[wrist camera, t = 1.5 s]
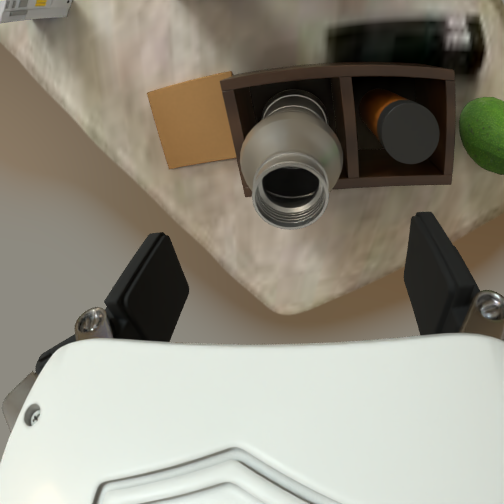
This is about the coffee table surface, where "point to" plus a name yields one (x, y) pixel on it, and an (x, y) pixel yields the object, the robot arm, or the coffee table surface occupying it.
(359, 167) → the brown divided box
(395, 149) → the spice jar
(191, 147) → the cork mat
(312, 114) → the metal flask
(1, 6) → the walkman
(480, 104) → the fruit
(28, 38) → the coffee table surface
